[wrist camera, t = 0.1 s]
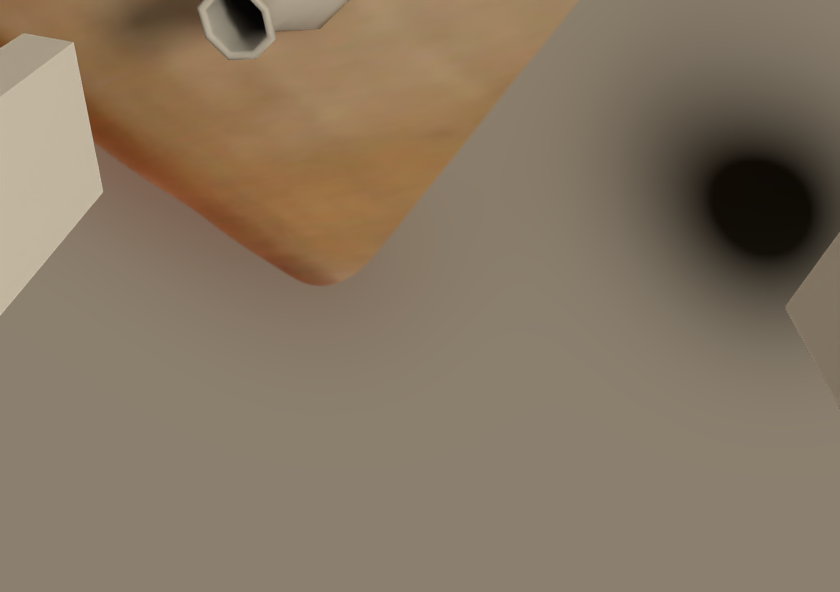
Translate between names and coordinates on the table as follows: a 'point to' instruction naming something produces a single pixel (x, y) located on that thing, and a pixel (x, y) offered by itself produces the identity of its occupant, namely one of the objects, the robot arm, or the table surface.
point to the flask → (259, 22)
